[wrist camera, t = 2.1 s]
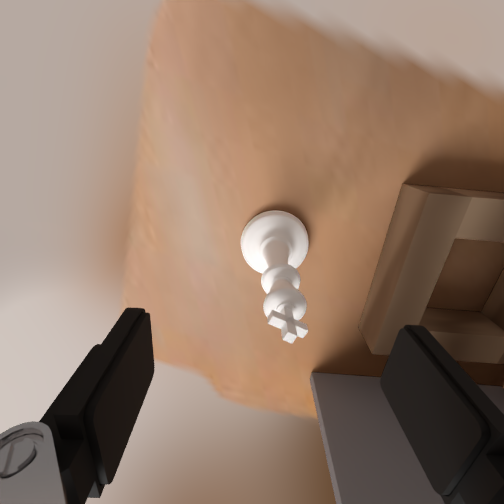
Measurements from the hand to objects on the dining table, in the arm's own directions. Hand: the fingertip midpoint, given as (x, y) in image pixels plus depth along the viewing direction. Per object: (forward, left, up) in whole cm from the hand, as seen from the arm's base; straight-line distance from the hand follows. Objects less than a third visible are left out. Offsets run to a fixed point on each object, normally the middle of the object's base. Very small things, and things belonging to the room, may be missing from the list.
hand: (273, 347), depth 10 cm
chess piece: (-1, 0, -11) cm, 11 cm away
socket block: (-15, +1, -11) cm, 18 cm away
